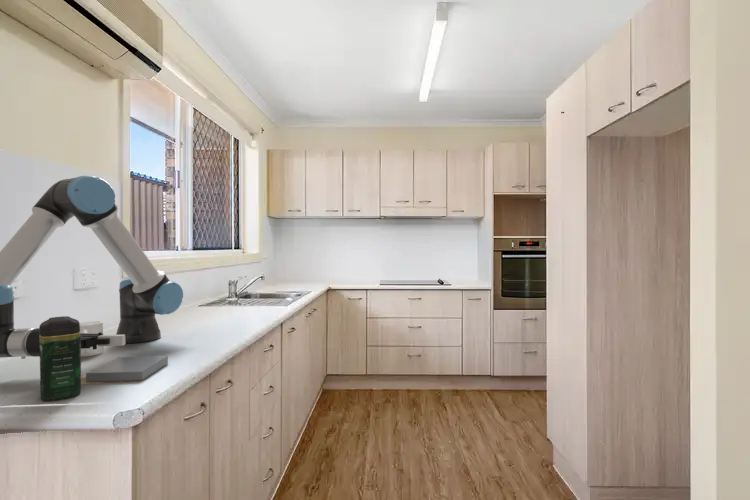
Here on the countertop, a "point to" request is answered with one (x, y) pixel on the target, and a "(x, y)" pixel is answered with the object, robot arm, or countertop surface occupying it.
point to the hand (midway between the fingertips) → (123, 340)
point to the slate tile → (127, 369)
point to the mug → (91, 328)
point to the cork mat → (83, 381)
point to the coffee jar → (60, 358)
